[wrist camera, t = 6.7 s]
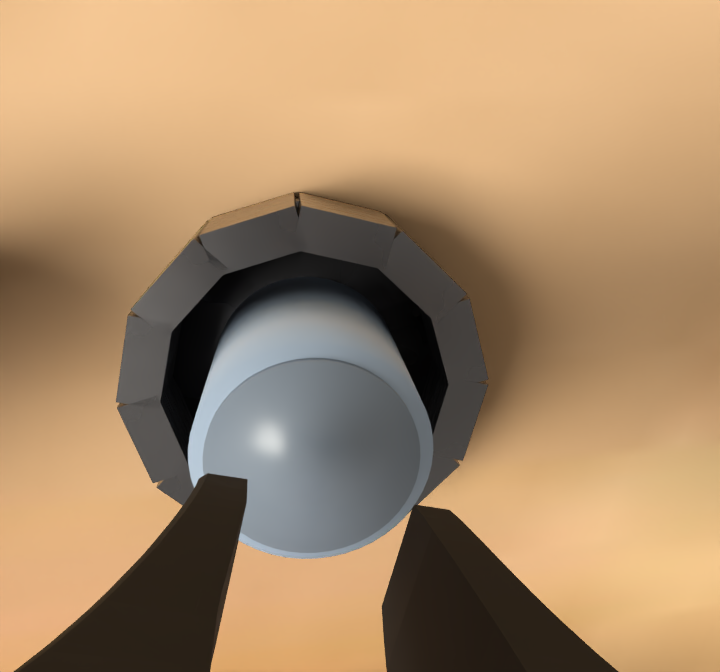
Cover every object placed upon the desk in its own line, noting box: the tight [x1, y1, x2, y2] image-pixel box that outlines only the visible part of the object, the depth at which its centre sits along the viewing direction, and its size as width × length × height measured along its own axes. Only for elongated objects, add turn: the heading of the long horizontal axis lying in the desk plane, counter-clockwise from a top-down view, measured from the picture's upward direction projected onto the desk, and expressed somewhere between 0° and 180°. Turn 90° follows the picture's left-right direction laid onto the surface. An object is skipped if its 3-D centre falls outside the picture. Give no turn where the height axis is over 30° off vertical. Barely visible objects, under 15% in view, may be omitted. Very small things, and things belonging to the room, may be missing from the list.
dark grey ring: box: [116, 192, 488, 512], centre depth 17 cm, size 9×9×3 cm
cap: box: [188, 277, 433, 559], centre depth 15 cm, size 5×5×5 cm
